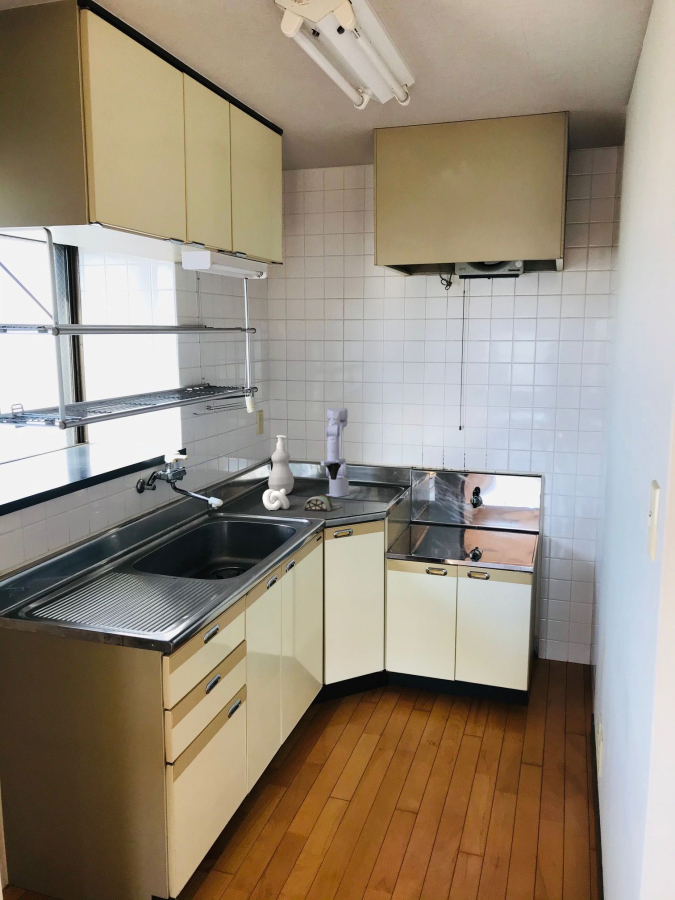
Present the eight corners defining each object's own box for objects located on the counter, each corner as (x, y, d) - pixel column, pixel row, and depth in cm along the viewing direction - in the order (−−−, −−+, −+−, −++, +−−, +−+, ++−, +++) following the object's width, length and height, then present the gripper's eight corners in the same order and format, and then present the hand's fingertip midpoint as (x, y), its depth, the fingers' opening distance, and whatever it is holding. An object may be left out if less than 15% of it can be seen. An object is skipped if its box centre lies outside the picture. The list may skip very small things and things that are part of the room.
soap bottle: (283, 497, 348) (282, 437, 344) (262, 496, 353) (261, 436, 349) (299, 491, 363) (298, 434, 359) (279, 490, 368) (278, 433, 364)
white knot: (268, 506, 329) (267, 486, 328) (293, 506, 327) (293, 487, 325) (261, 511, 318) (260, 491, 317) (287, 511, 316) (286, 491, 314)
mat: (317, 502, 334) (317, 502, 334) (342, 507, 323) (342, 506, 323) (302, 505, 328) (302, 505, 328) (327, 510, 317) (327, 510, 316)
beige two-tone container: (335, 492, 322) (328, 497, 313) (335, 506, 323) (329, 511, 314) (309, 492, 326) (301, 497, 316) (310, 505, 327) (302, 510, 317)
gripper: (328, 452, 327) (328, 482, 328) (350, 449, 337) (350, 478, 338) (317, 451, 332) (317, 480, 333) (339, 449, 342) (339, 477, 343)
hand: (333, 479), depth 336 cm, fingers closed
